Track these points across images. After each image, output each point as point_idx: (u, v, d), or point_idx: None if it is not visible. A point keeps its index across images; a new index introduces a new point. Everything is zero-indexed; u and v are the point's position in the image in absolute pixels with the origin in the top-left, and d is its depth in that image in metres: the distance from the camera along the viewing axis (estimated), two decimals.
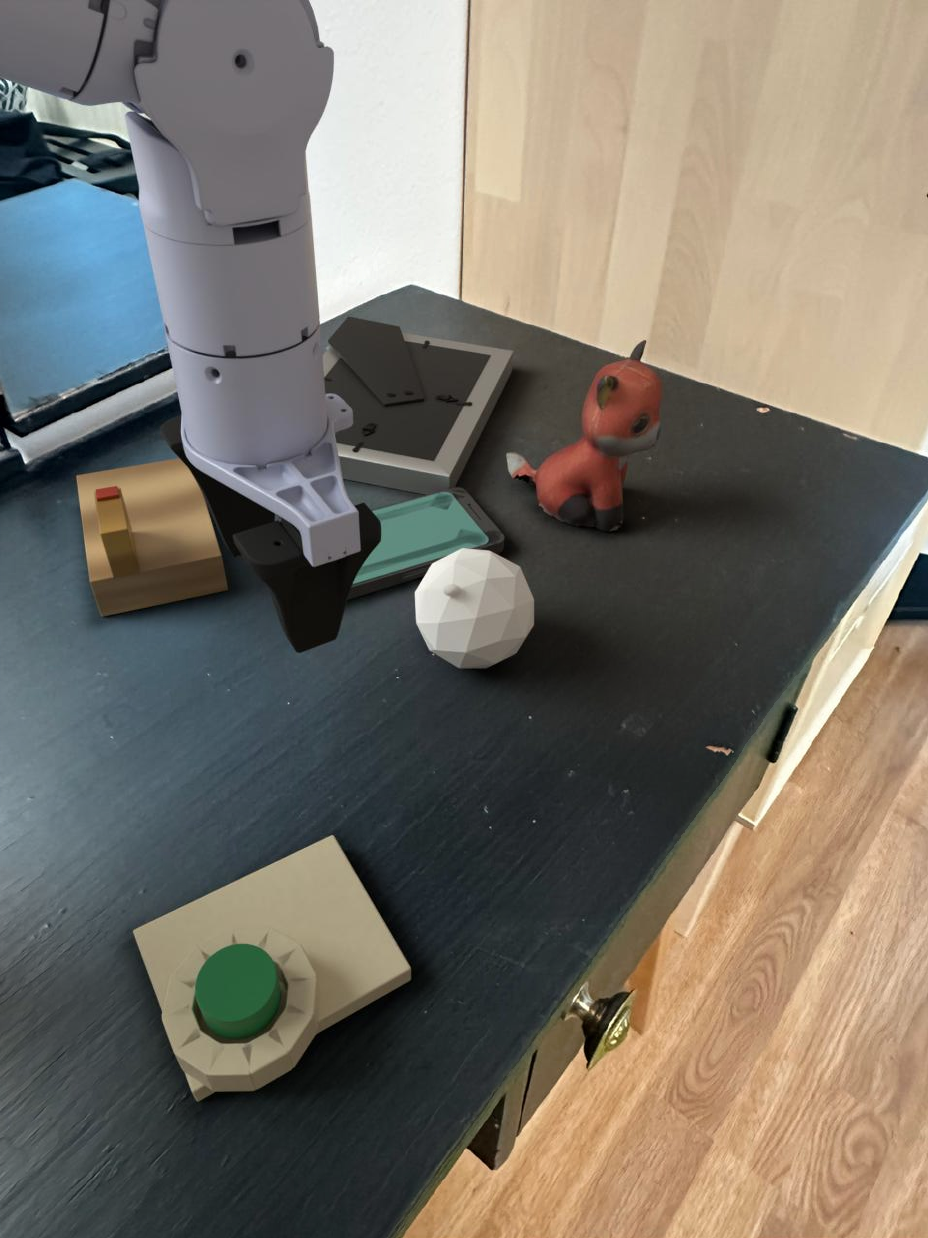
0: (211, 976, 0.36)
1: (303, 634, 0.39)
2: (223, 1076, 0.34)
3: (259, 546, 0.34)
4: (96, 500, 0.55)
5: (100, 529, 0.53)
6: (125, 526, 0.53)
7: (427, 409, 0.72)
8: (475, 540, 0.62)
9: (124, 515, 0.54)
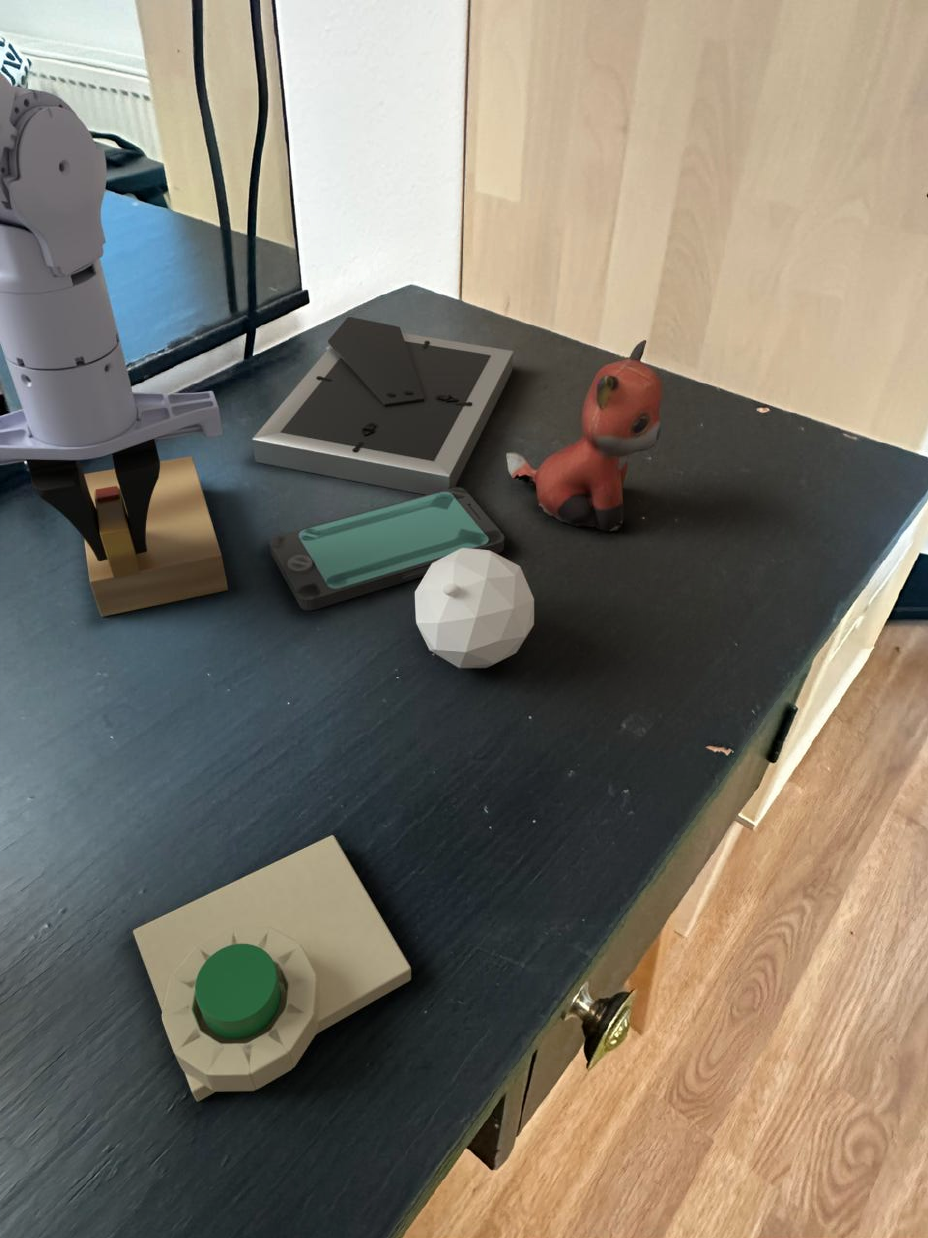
0: (211, 976, 0.36)
1: None
2: (223, 1076, 0.34)
3: (136, 464, 0.50)
4: (96, 500, 0.55)
5: (100, 529, 0.53)
6: (125, 526, 0.53)
7: (427, 409, 0.72)
8: (475, 540, 0.62)
9: (124, 515, 0.54)
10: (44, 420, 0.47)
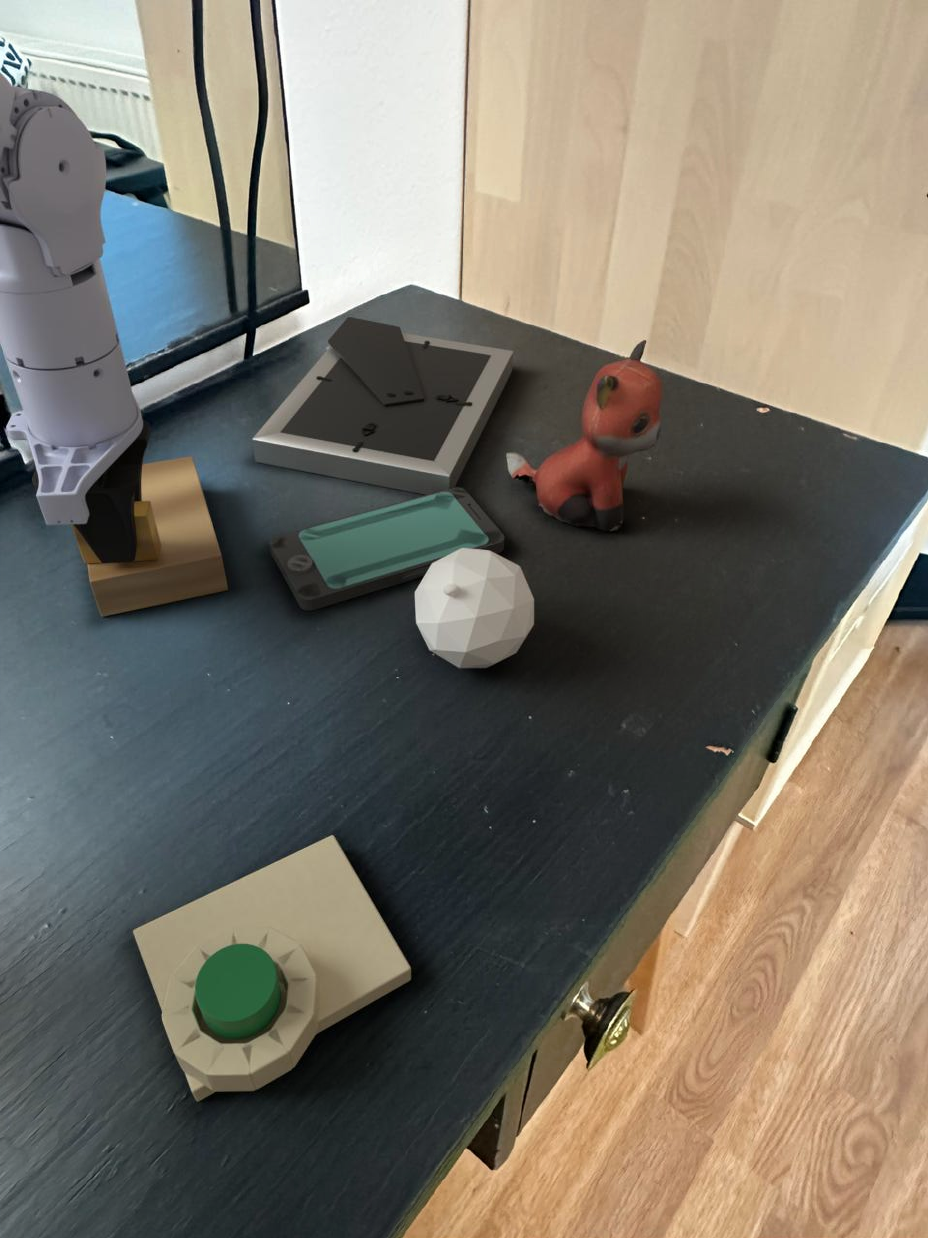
0: (211, 976, 0.36)
1: None
2: (223, 1076, 0.34)
3: None
4: None
5: (139, 515, 0.54)
6: (145, 501, 0.55)
7: (427, 409, 0.72)
8: (475, 540, 0.62)
9: None
10: (113, 410, 0.48)
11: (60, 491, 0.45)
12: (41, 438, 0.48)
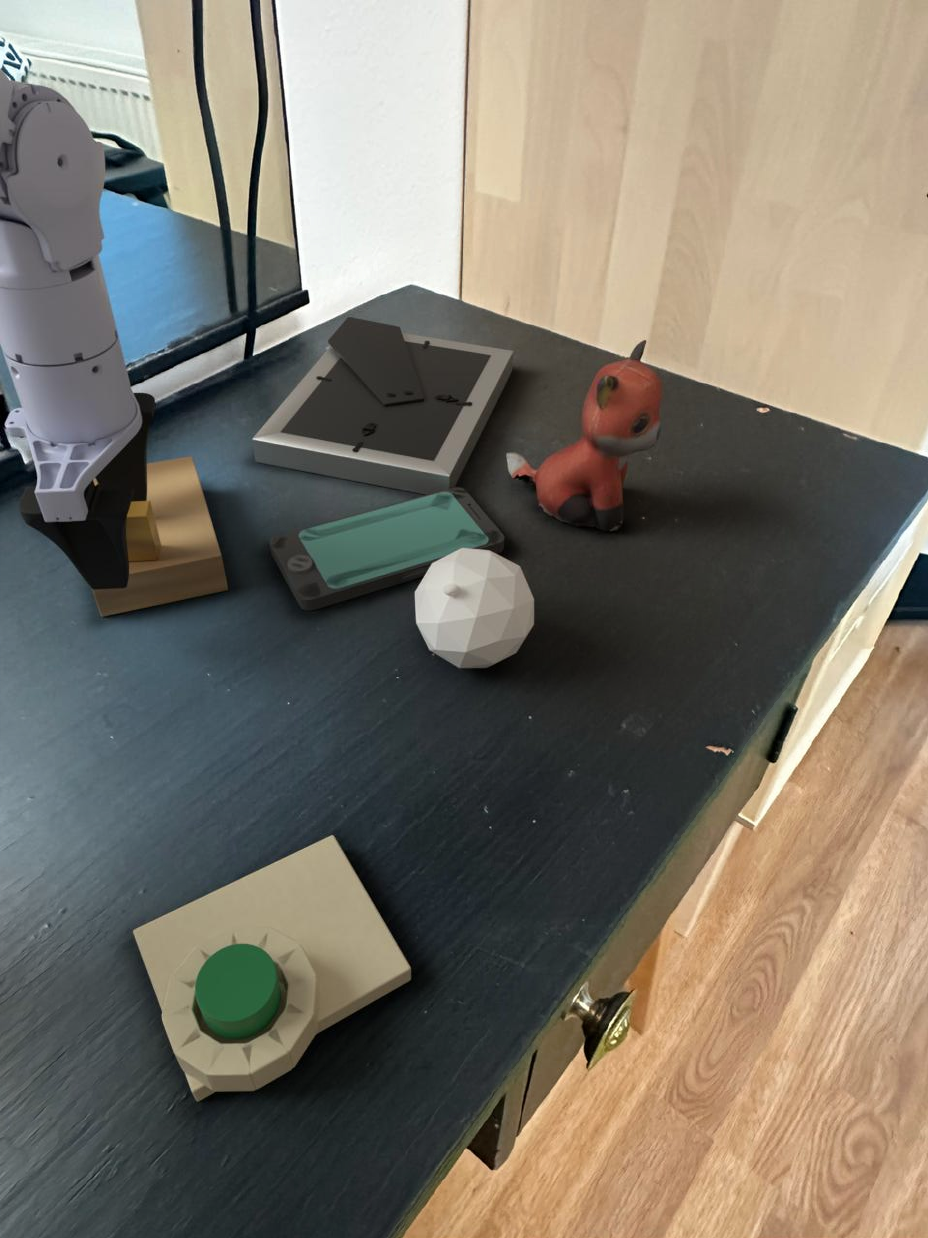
0: (211, 976, 0.36)
1: None
2: (223, 1076, 0.34)
3: (143, 402, 0.55)
4: None
5: (139, 515, 0.54)
6: (145, 501, 0.55)
7: (427, 409, 0.72)
8: (475, 540, 0.62)
9: None
10: (112, 406, 0.48)
11: (59, 488, 0.45)
12: (40, 434, 0.48)
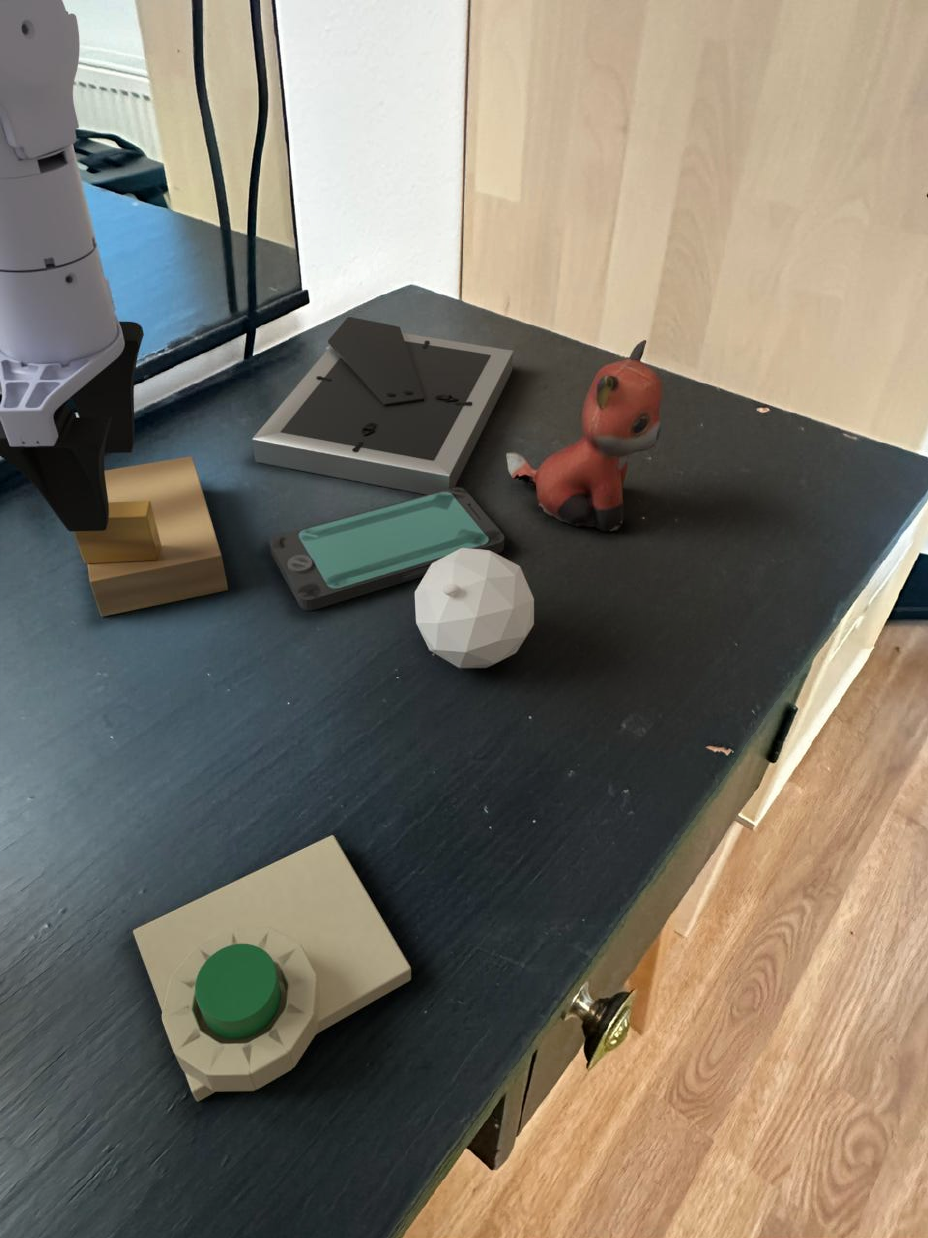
0: (211, 976, 0.36)
1: None
2: (223, 1076, 0.34)
3: (129, 330, 0.50)
4: None
5: (139, 515, 0.54)
6: (145, 501, 0.55)
7: (427, 409, 0.72)
8: (475, 540, 0.62)
9: None
10: (89, 324, 0.43)
11: (24, 407, 0.40)
12: (9, 353, 0.43)
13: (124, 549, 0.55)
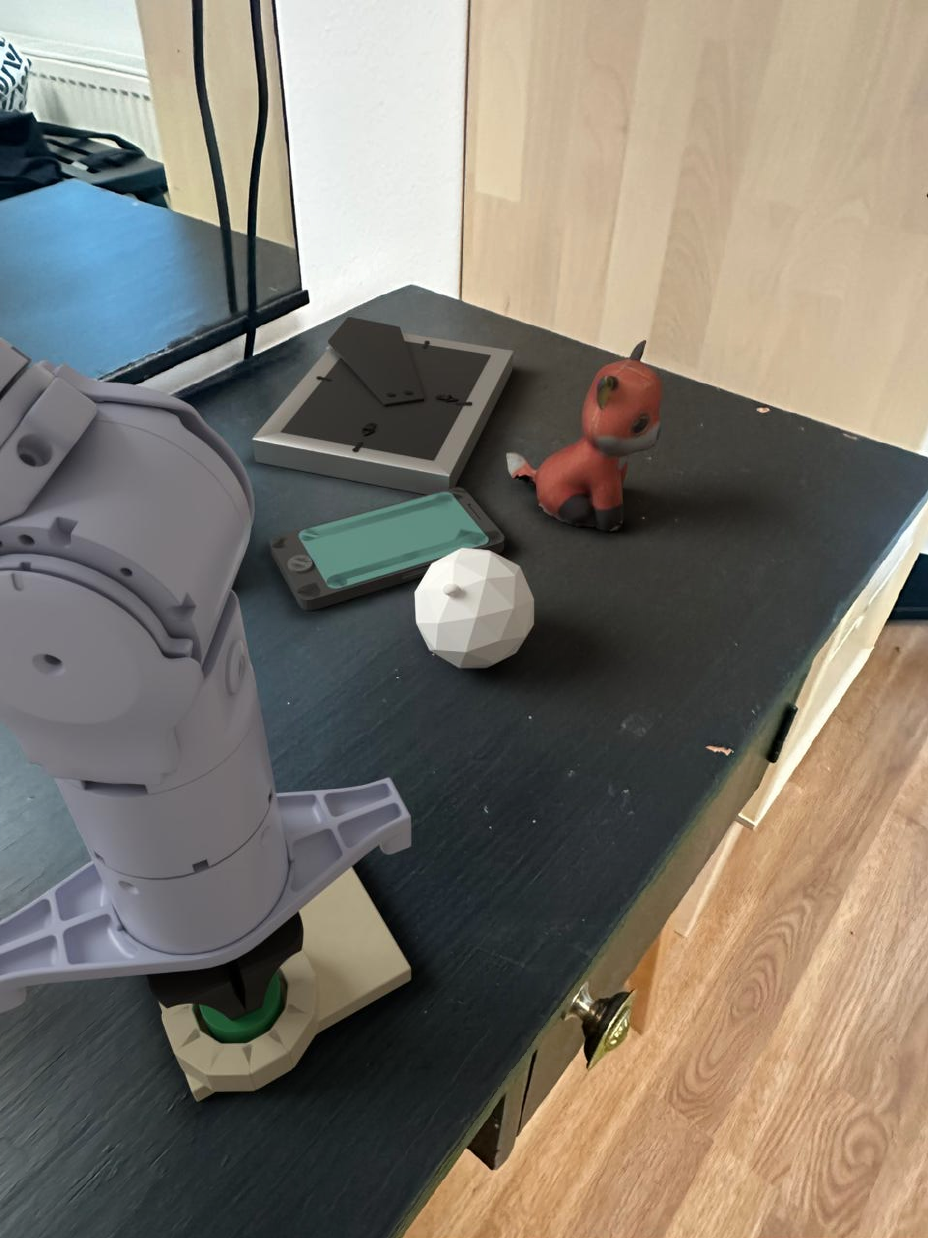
0: None
1: None
2: (223, 1076, 0.34)
3: (269, 940, 0.30)
4: None
5: None
6: None
7: (427, 409, 0.72)
8: (475, 540, 0.62)
9: None
10: (155, 929, 0.27)
11: None
12: None
13: None
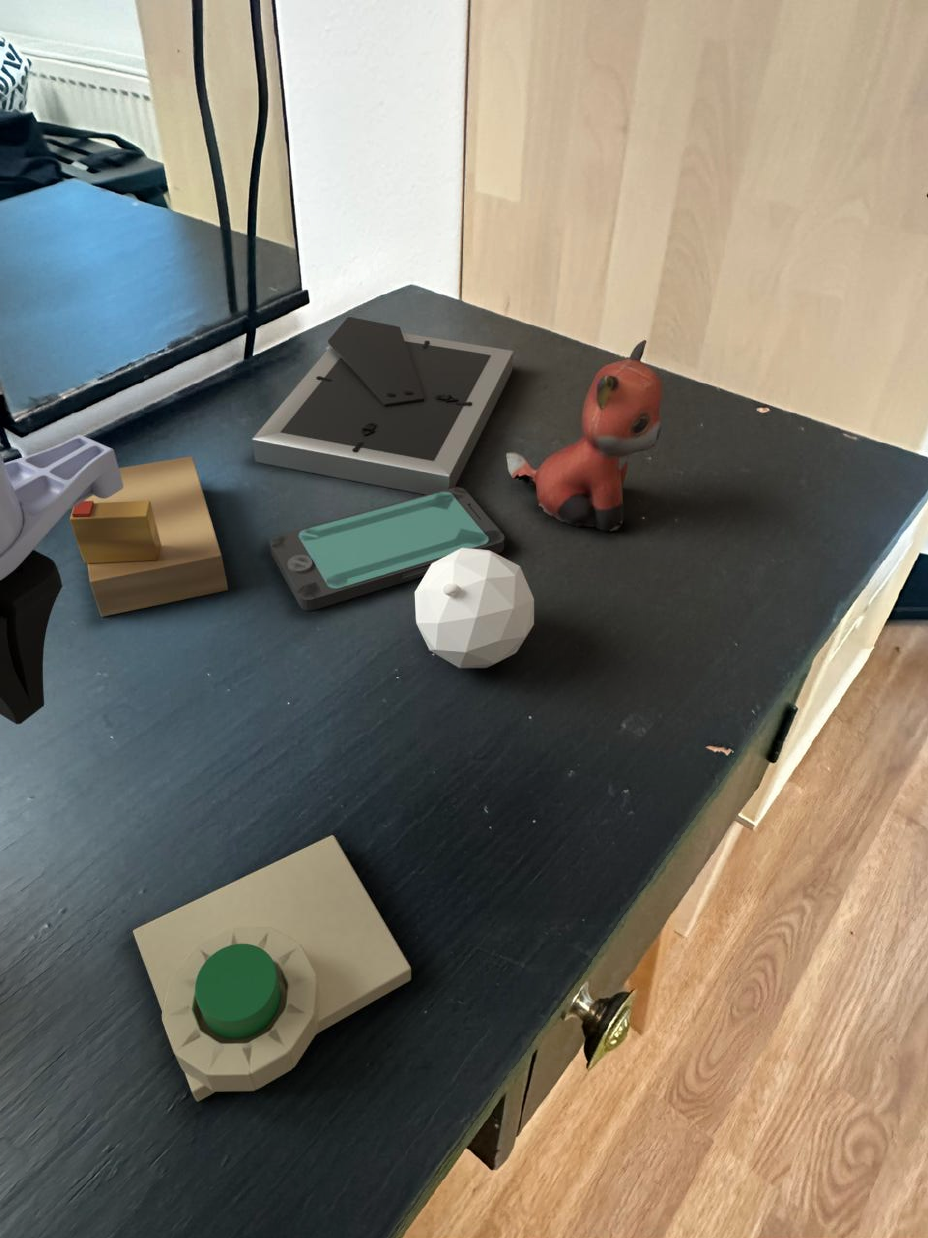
0: (211, 976, 0.36)
1: None
2: (223, 1076, 0.34)
3: (28, 578, 0.33)
4: (88, 516, 0.53)
5: (139, 515, 0.54)
6: (145, 501, 0.55)
7: (427, 409, 0.72)
8: (475, 540, 0.62)
9: None
10: None
11: None
12: None
13: (124, 549, 0.55)
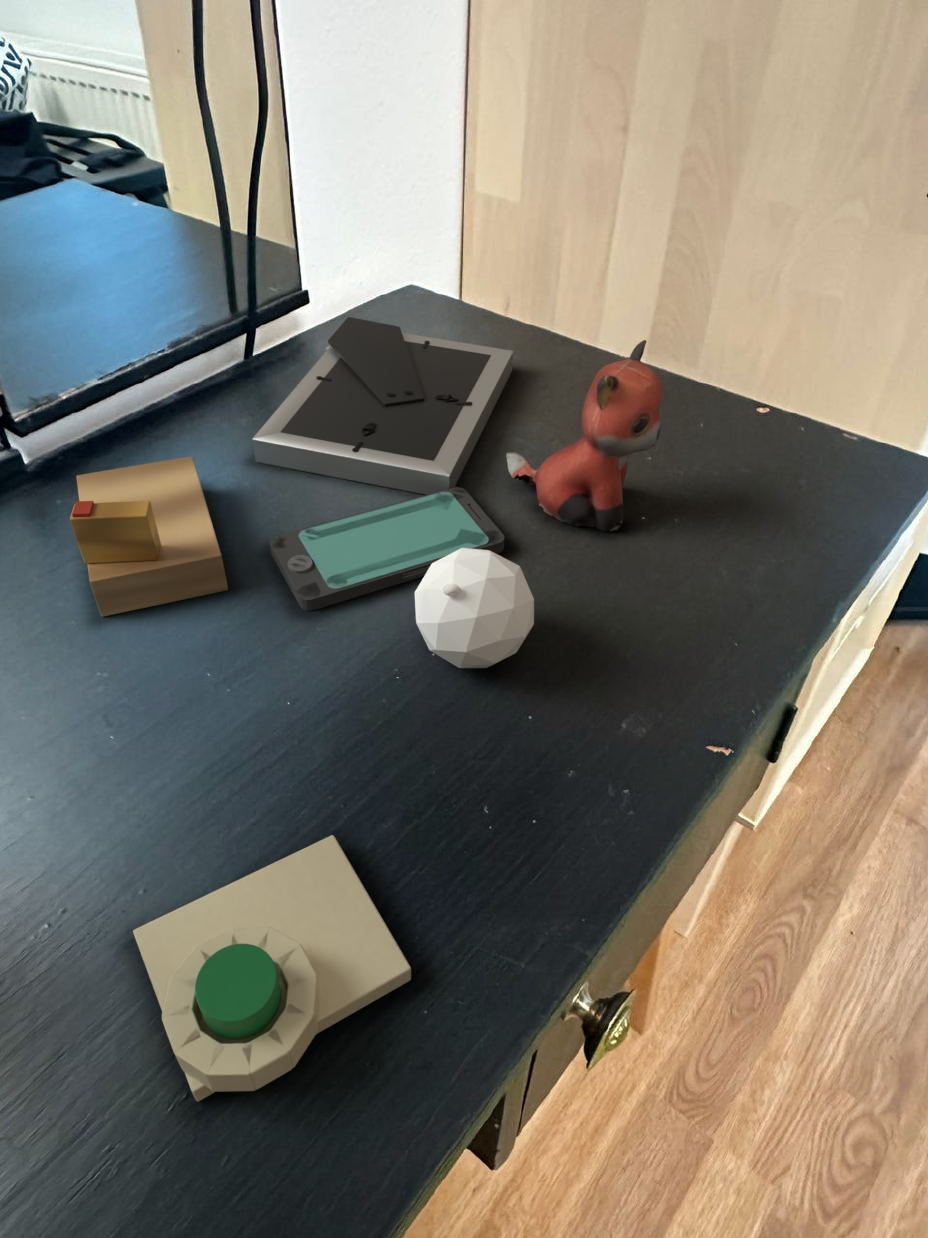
0: (211, 976, 0.36)
1: None
2: (223, 1076, 0.34)
3: None
4: (88, 516, 0.53)
5: (139, 515, 0.54)
6: (145, 501, 0.55)
7: (427, 409, 0.72)
8: (475, 540, 0.62)
9: None
10: None
11: None
12: None
13: (124, 549, 0.55)
